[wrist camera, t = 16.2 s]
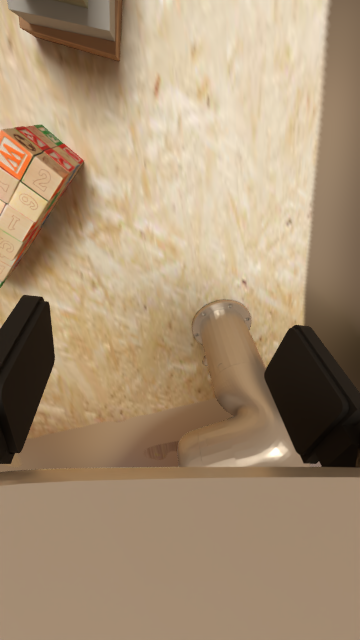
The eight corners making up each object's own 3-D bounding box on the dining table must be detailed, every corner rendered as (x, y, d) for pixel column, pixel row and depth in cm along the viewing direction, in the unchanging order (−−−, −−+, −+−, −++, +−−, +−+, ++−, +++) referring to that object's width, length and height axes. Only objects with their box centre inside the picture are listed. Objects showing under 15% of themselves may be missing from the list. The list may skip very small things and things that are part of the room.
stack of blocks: (17, 267, 46) (-17, 309, 36) (-23, 244, 43) (-72, 283, 33) (85, 160, 37) (63, 178, 28) (41, 121, 34) (-1, 128, 25)
